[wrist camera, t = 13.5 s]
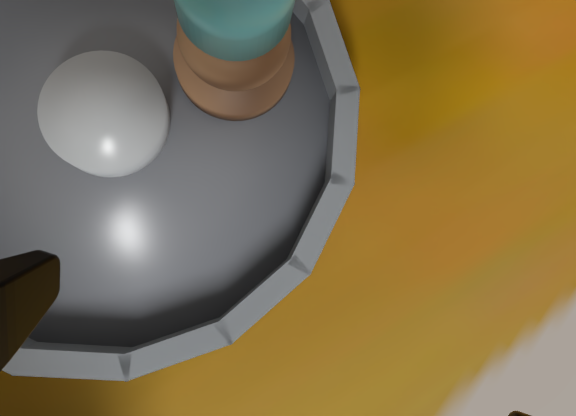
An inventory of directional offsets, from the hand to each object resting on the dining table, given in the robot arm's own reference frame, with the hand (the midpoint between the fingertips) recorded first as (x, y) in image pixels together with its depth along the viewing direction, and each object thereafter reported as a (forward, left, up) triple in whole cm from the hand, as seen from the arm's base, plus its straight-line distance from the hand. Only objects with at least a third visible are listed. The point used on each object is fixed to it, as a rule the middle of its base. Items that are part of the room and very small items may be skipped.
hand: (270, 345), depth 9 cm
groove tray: (-7, +7, -13) cm, 16 cm away
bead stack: (-2, +10, -12) cm, 16 cm away
